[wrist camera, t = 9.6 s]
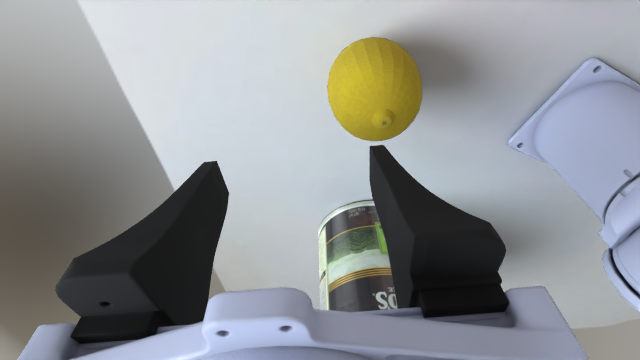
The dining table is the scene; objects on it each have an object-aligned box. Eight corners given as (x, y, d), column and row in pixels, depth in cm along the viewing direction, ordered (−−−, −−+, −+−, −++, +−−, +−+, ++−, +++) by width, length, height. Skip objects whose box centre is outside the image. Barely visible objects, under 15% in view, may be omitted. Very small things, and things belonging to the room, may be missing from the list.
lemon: (342, 8, 20) (356, 54, 14) (419, 38, 22) (462, 91, 16) (314, 87, 24) (316, 151, 18) (382, 109, 25) (406, 175, 19)
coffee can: (351, 184, 30) (375, 341, 19) (433, 220, 34) (492, 369, 23) (299, 246, 36) (295, 393, 25) (374, 271, 39) (399, 409, 29)
